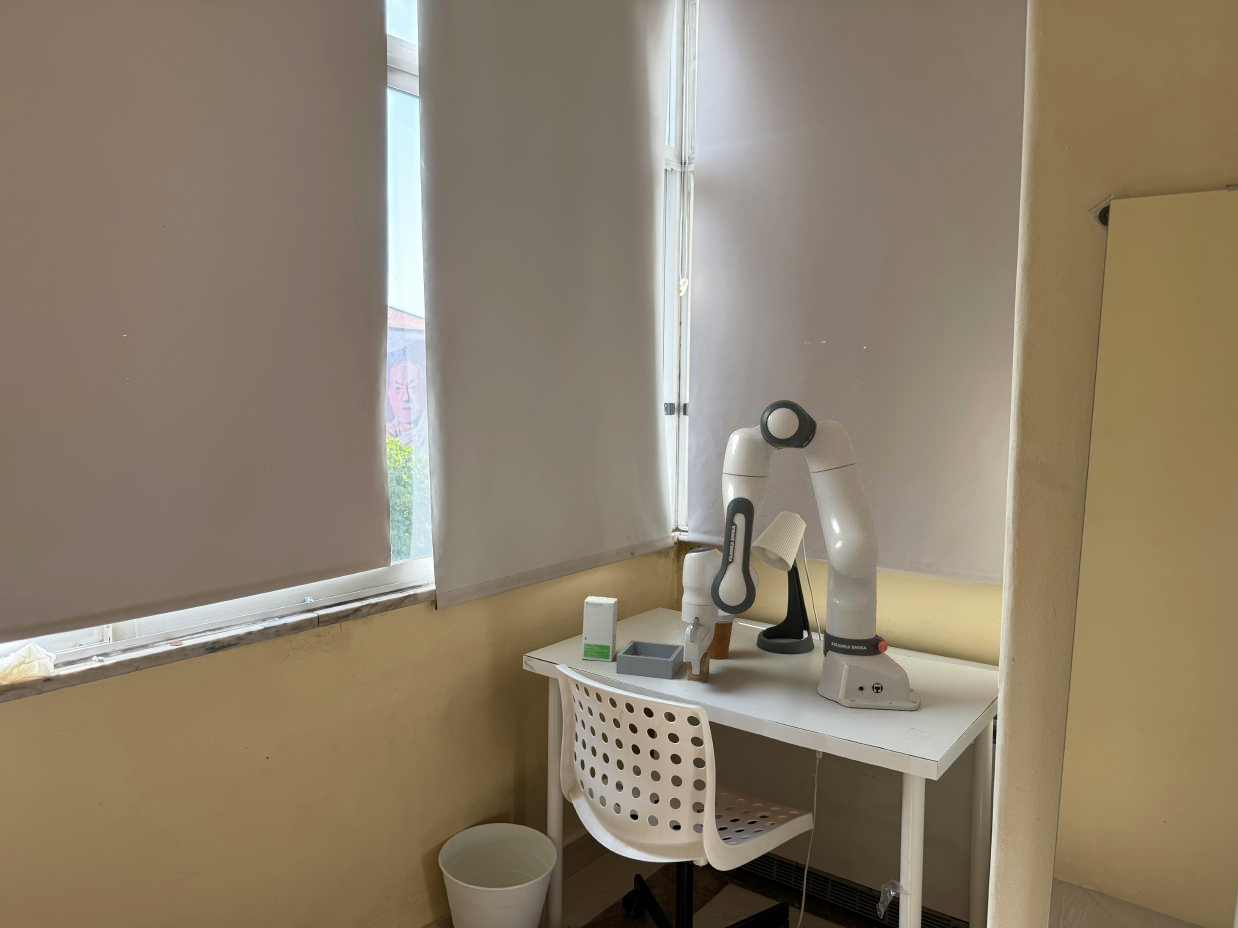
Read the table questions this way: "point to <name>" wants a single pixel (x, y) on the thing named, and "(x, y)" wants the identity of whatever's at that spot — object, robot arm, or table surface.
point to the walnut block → (704, 669)
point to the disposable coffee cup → (721, 636)
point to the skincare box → (599, 628)
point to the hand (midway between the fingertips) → (698, 669)
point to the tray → (650, 659)
